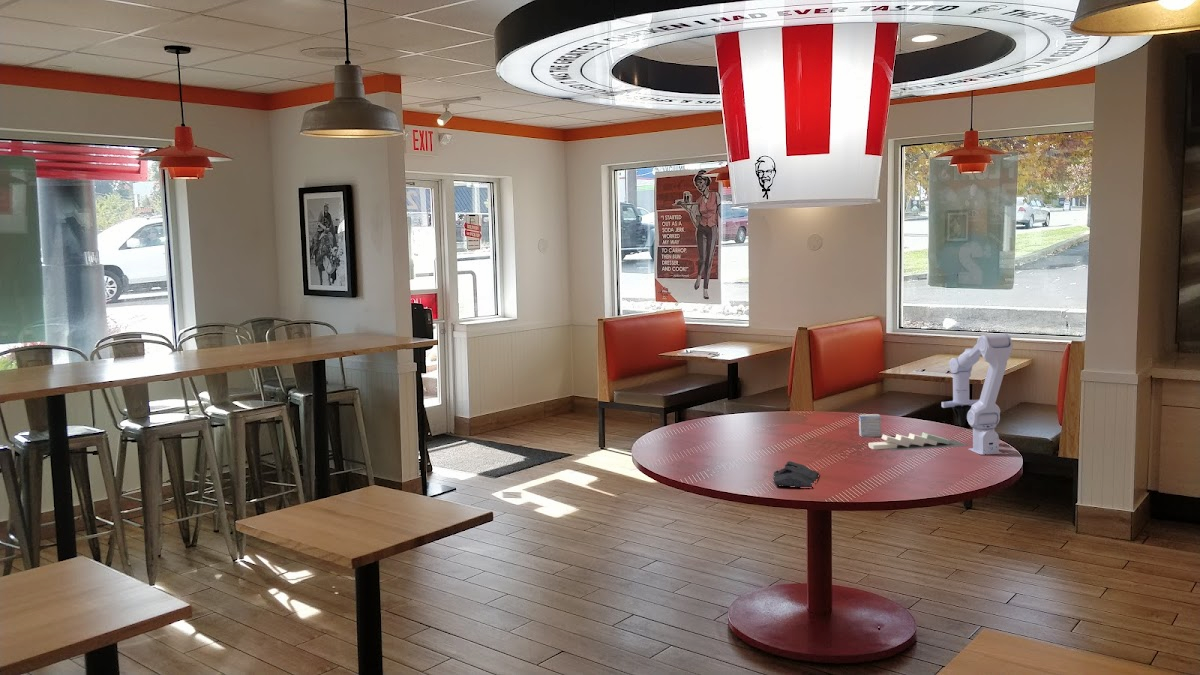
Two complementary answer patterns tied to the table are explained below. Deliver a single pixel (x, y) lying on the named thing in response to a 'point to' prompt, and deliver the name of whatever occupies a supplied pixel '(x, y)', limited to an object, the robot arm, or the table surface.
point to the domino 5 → (935, 438)
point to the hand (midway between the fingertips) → (961, 425)
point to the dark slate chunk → (795, 475)
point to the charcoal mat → (928, 446)
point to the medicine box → (870, 425)
